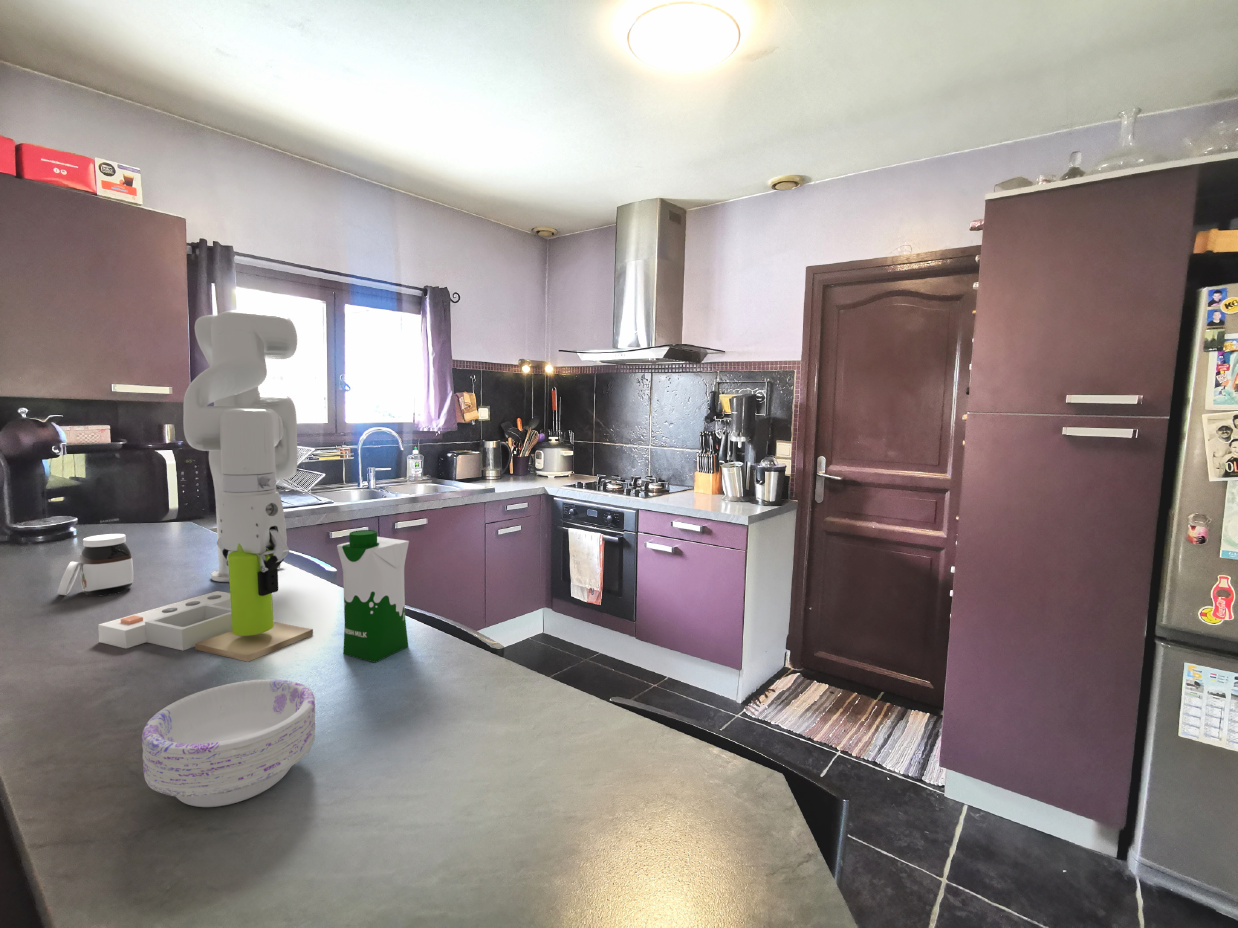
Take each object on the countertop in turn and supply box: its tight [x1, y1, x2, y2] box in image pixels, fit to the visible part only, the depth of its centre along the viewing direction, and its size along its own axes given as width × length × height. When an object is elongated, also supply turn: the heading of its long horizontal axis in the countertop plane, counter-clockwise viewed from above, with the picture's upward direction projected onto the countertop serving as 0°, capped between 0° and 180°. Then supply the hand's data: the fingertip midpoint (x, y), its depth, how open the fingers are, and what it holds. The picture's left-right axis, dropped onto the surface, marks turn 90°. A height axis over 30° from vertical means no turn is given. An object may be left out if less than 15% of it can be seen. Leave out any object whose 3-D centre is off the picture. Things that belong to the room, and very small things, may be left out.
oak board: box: [194, 621, 314, 662], centre depth 99 cm, size 12×12×1 cm
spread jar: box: [57, 533, 134, 597], centre depth 124 cm, size 12×11×12 cm
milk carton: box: [336, 529, 410, 663], centre depth 96 cm, size 9×9×20 cm
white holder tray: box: [97, 590, 232, 652], centre depth 105 cm, size 20×16×4 cm
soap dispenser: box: [228, 543, 274, 636], centre depth 99 cm, size 6×7×20 cm
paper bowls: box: [141, 678, 316, 808], centre depth 63 cm, size 15×15×8 cm
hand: (254, 589), depth 99 cm, fingers closed on soap dispenser, 5 cm apart
